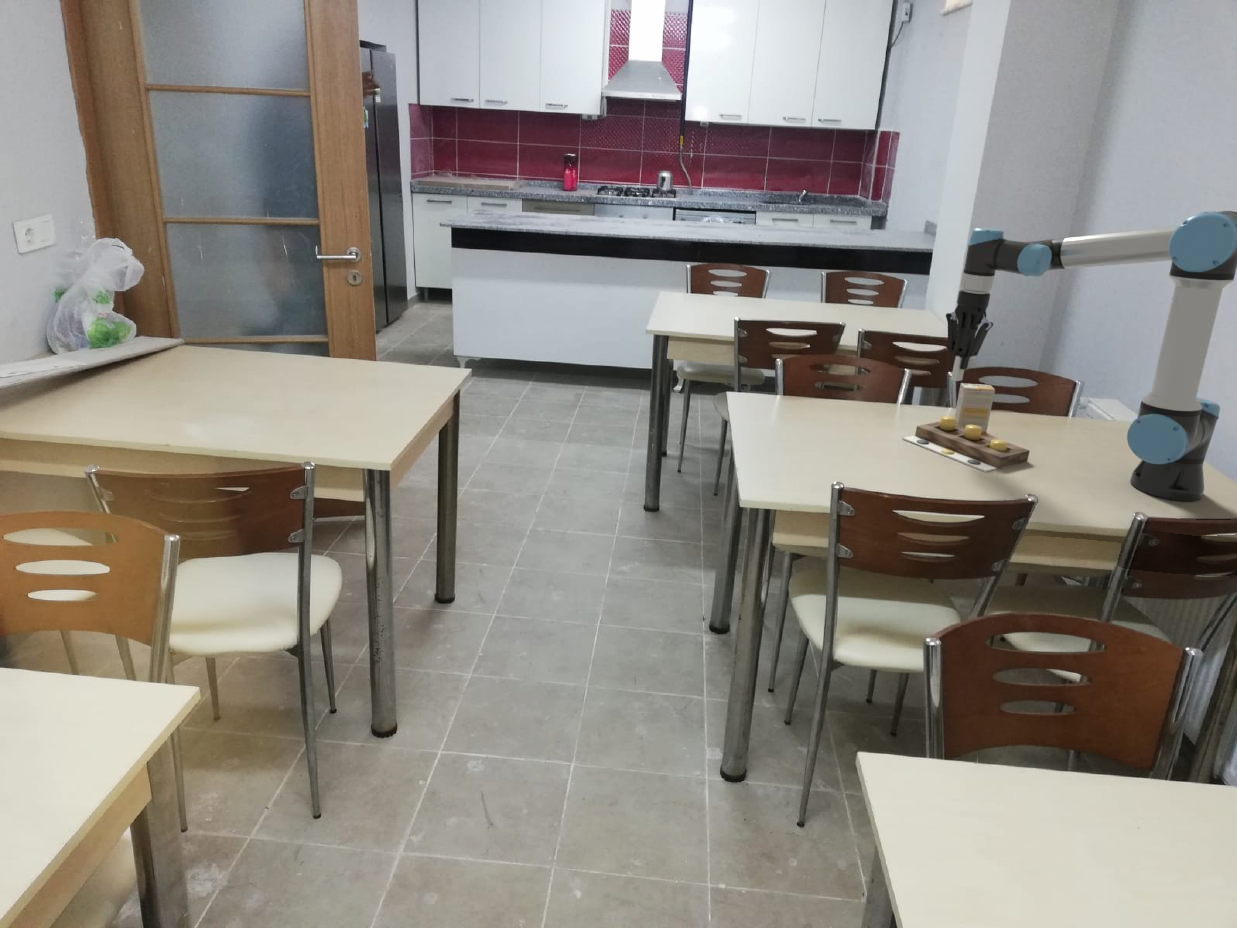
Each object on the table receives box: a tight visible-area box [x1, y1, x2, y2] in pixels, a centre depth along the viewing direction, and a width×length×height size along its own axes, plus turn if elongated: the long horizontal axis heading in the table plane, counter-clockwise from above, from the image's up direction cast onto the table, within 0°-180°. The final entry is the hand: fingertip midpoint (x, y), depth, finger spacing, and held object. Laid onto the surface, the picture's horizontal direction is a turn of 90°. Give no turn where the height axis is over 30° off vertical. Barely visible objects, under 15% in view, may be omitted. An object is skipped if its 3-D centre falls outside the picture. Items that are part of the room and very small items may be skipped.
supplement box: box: [953, 382, 996, 435], centre depth 243 cm, size 8×5×13 cm, turn 84°
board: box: [914, 421, 1030, 470], centre depth 230 cm, size 26×12×3 cm, turn 33°
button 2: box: [990, 438, 1009, 452], centre depth 223 cm, size 4×4×3 cm
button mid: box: [964, 425, 982, 440], centre depth 229 cm, size 4×4×3 cm
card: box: [901, 435, 997, 473], centre depth 226 cm, size 26×4×1 cm, turn 32°
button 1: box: [939, 415, 957, 431], centre depth 235 cm, size 4×4×3 cm
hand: (956, 379), depth 231 cm, fingers closed
